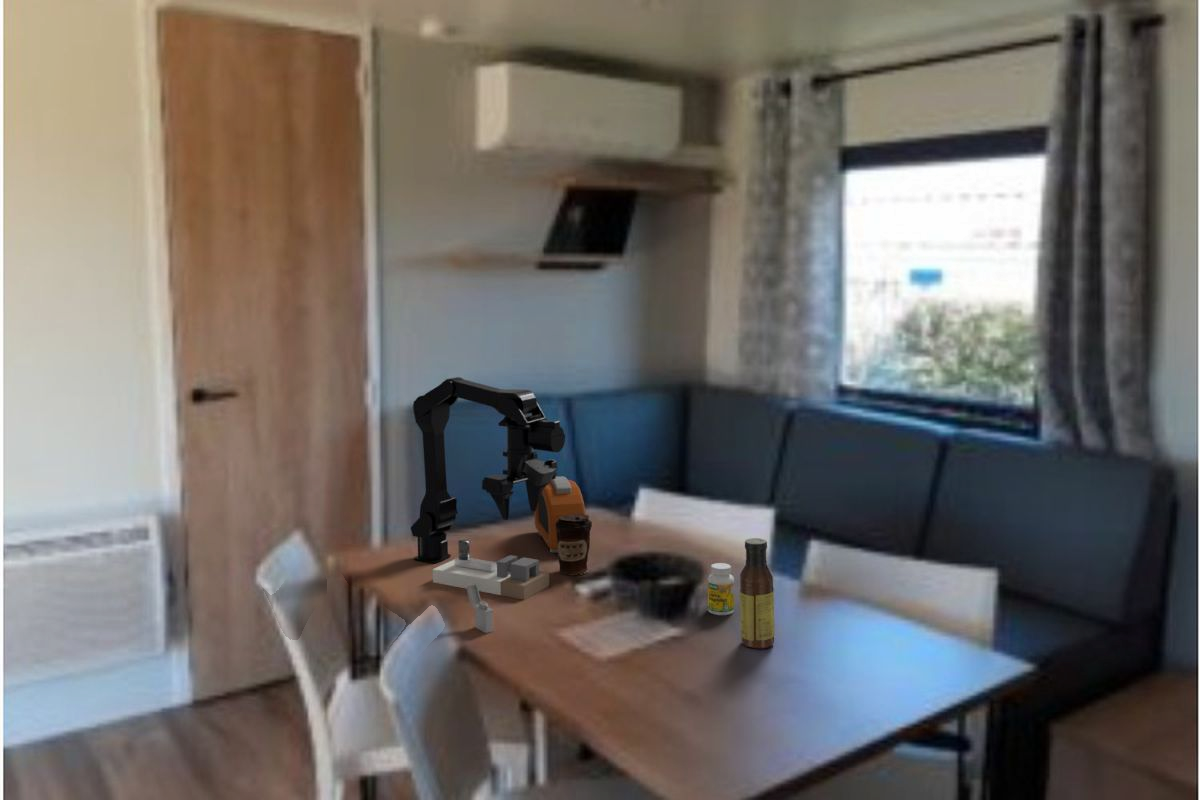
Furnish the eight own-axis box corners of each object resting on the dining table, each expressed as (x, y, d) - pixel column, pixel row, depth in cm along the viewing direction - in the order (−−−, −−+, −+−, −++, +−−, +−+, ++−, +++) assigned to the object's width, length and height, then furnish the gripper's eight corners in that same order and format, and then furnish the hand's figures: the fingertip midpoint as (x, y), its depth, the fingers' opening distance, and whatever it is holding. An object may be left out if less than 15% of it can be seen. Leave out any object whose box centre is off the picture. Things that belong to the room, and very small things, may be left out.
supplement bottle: (737, 608, 206) (737, 563, 204) (729, 617, 201) (730, 571, 199) (711, 605, 208) (712, 560, 206) (704, 613, 203) (704, 568, 202)
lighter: (493, 631, 194) (492, 591, 193) (486, 633, 193) (485, 593, 192) (474, 620, 199) (473, 581, 198) (466, 622, 198) (465, 583, 197)
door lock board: (433, 582, 223) (432, 554, 222) (459, 569, 231) (459, 542, 230) (524, 599, 211) (523, 570, 210) (549, 585, 220) (548, 557, 219)
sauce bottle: (776, 639, 189) (779, 537, 186) (771, 652, 183) (773, 547, 180) (742, 635, 191) (744, 534, 188) (735, 647, 185) (737, 543, 183)
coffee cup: (591, 578, 225) (591, 522, 223) (554, 578, 225) (554, 521, 223) (592, 566, 234) (592, 511, 232) (557, 566, 234) (556, 511, 232)
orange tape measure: (534, 531, 263) (533, 469, 261) (567, 529, 266) (567, 467, 263) (551, 557, 241) (550, 489, 238) (587, 554, 243) (587, 487, 241)
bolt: (453, 565, 224) (453, 541, 223) (460, 562, 226) (459, 538, 225) (491, 572, 219) (490, 547, 219) (497, 569, 221) (496, 544, 221)
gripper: (518, 459, 210) (518, 531, 213) (574, 445, 225) (573, 513, 227) (480, 451, 217) (480, 521, 219) (536, 439, 232) (536, 505, 234)
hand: (519, 515), depth 225 cm, fingers open, 9 cm apart
